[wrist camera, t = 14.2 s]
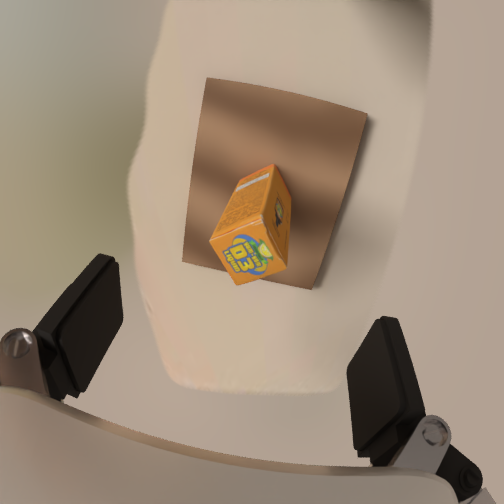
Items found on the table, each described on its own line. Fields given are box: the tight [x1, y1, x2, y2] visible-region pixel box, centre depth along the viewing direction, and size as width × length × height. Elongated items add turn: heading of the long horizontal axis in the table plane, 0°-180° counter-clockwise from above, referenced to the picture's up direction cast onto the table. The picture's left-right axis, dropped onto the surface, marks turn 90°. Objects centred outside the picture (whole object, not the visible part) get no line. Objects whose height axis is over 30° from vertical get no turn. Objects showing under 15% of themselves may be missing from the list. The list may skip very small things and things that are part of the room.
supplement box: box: [209, 164, 291, 285], centre depth 20 cm, size 3×3×10 cm
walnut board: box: [182, 78, 367, 290], centre depth 25 cm, size 16×12×1 cm
